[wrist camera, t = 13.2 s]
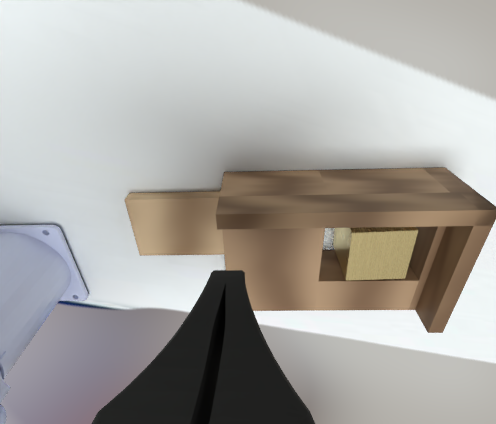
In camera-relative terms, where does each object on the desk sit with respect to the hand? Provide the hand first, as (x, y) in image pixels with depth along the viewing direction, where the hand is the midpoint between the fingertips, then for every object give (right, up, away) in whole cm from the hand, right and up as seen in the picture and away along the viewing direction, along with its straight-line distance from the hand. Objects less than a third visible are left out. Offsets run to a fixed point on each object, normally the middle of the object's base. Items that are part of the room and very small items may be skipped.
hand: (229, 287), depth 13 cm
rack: (+2, +2, +10) cm, 11 cm away
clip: (+7, +1, +8) cm, 11 cm away
